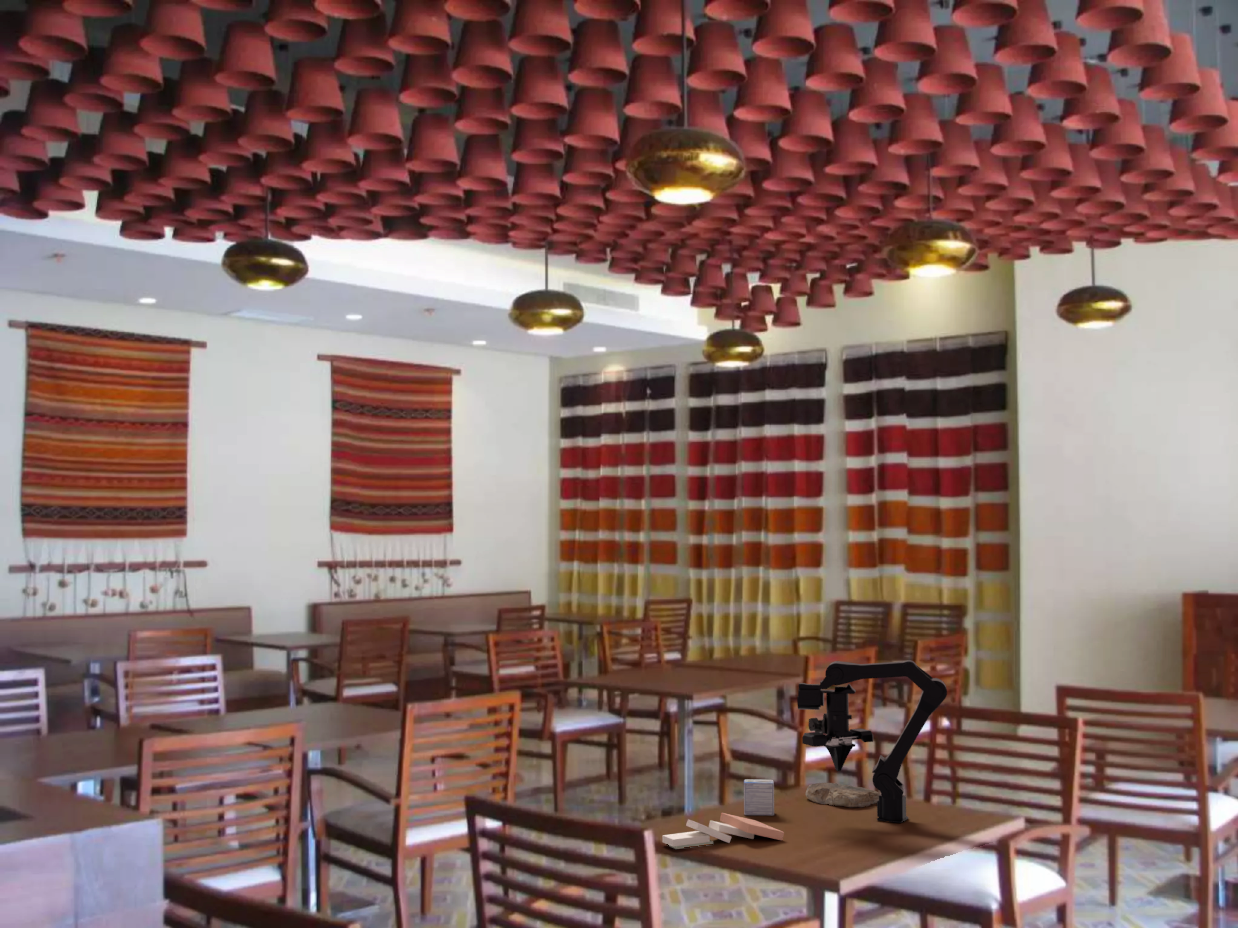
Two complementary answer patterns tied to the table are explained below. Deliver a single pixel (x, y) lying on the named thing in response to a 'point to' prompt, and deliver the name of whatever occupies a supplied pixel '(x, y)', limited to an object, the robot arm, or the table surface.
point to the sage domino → (691, 845)
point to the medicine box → (758, 797)
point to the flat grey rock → (841, 795)
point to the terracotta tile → (752, 826)
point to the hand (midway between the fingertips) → (838, 770)
